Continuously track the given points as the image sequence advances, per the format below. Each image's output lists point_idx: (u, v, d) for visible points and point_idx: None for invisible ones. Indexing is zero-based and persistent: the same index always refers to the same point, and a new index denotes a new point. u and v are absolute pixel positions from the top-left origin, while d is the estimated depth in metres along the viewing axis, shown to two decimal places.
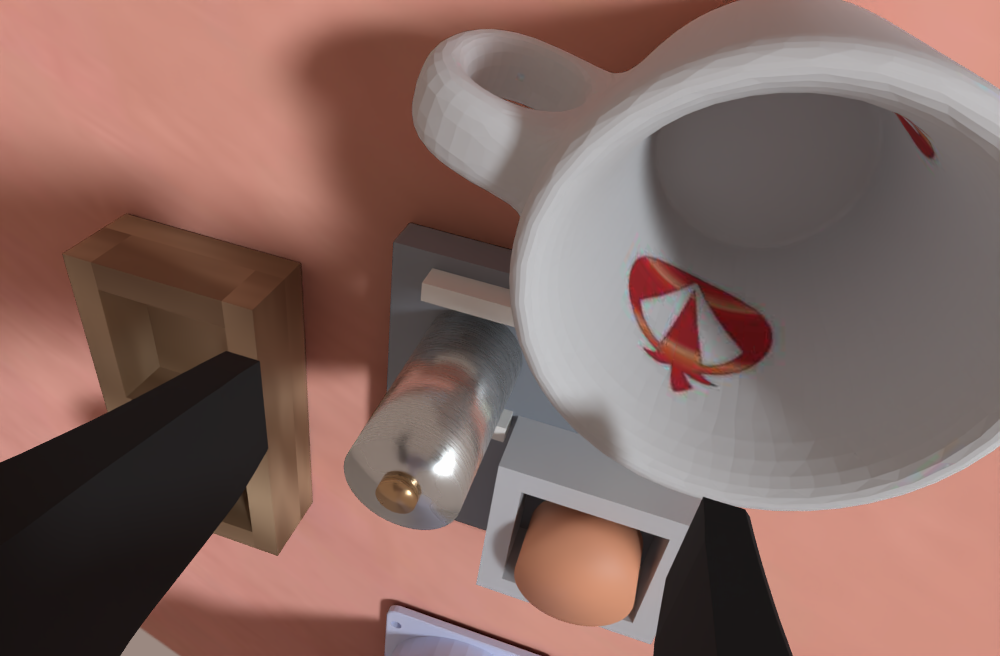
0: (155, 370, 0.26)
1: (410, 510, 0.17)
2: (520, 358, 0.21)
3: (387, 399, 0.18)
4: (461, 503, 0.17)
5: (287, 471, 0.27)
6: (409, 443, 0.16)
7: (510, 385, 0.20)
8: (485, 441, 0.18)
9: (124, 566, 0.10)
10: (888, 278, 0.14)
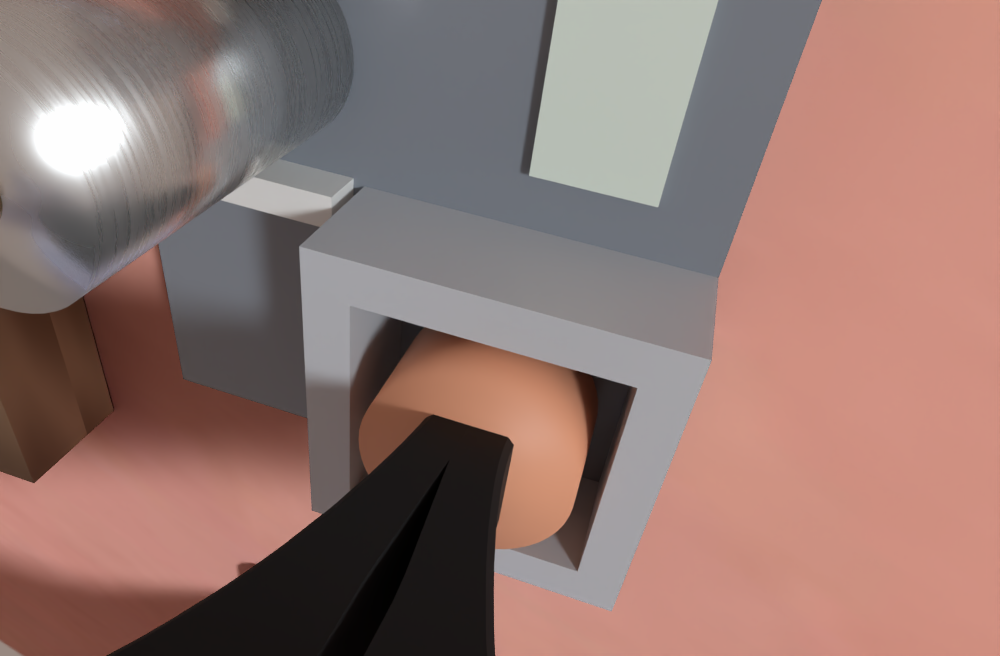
0: None
1: None
2: (346, 41, 0.11)
3: None
4: (91, 213, 0.07)
5: (31, 338, 0.16)
6: None
7: (310, 68, 0.10)
8: (207, 121, 0.08)
9: None
10: None
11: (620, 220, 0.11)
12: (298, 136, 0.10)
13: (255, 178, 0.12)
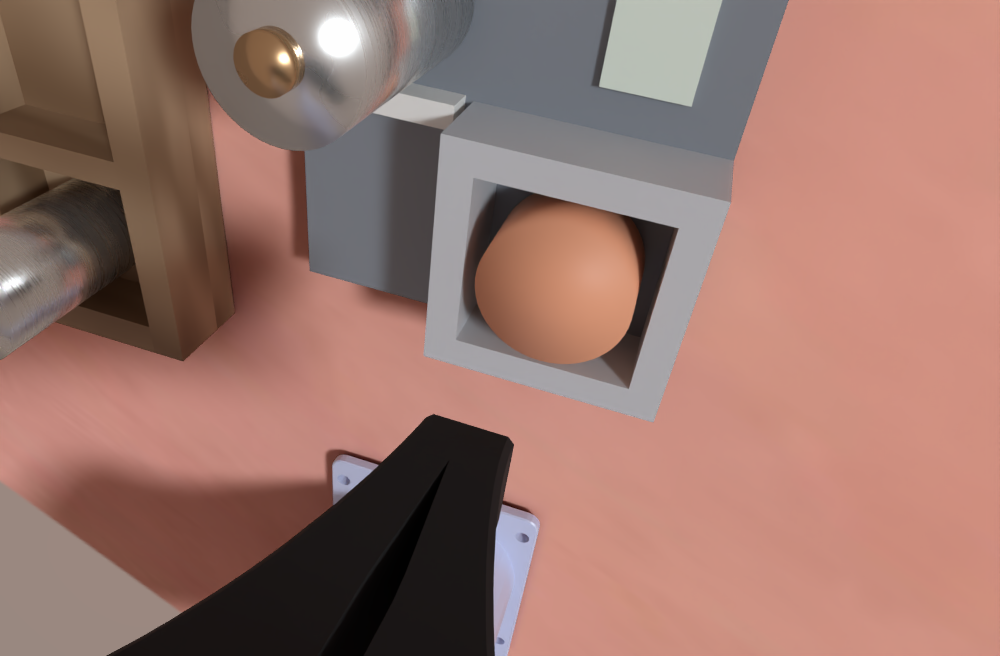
0: (17, 106, 0.20)
1: (286, 87, 0.11)
2: None
3: None
4: (364, 75, 0.11)
5: (189, 240, 0.21)
6: None
7: (454, 6, 0.14)
8: (409, 31, 0.12)
9: None
10: None
11: (663, 119, 0.16)
12: (441, 55, 0.15)
13: None
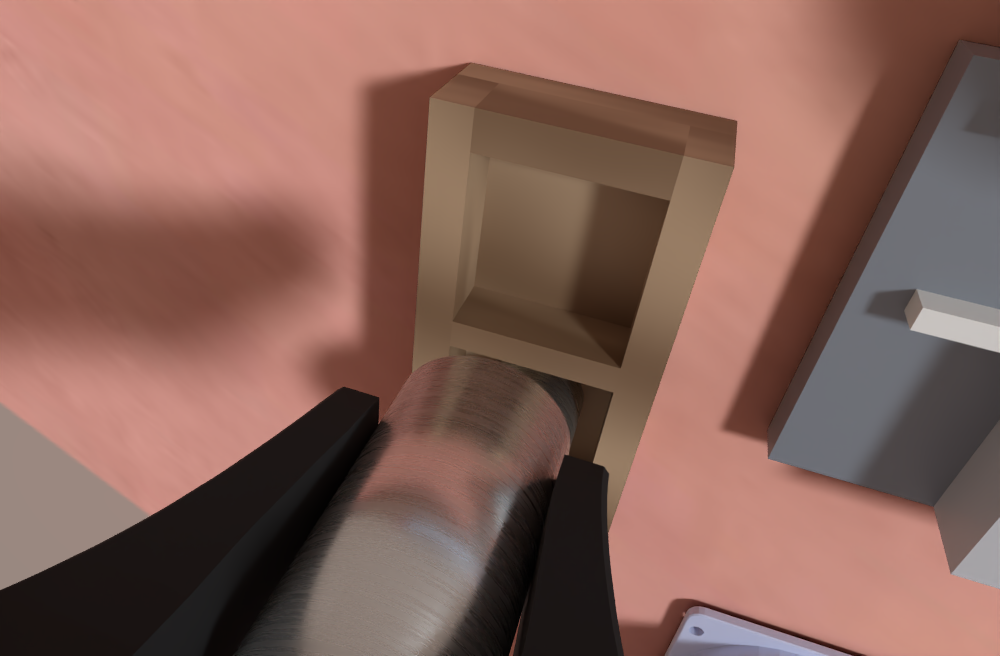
0: (471, 289, 0.20)
1: None
2: (567, 445, 0.11)
3: (304, 559, 0.08)
4: None
5: None
6: None
7: None
8: (509, 640, 0.09)
9: None
10: None
11: None
12: None
13: None
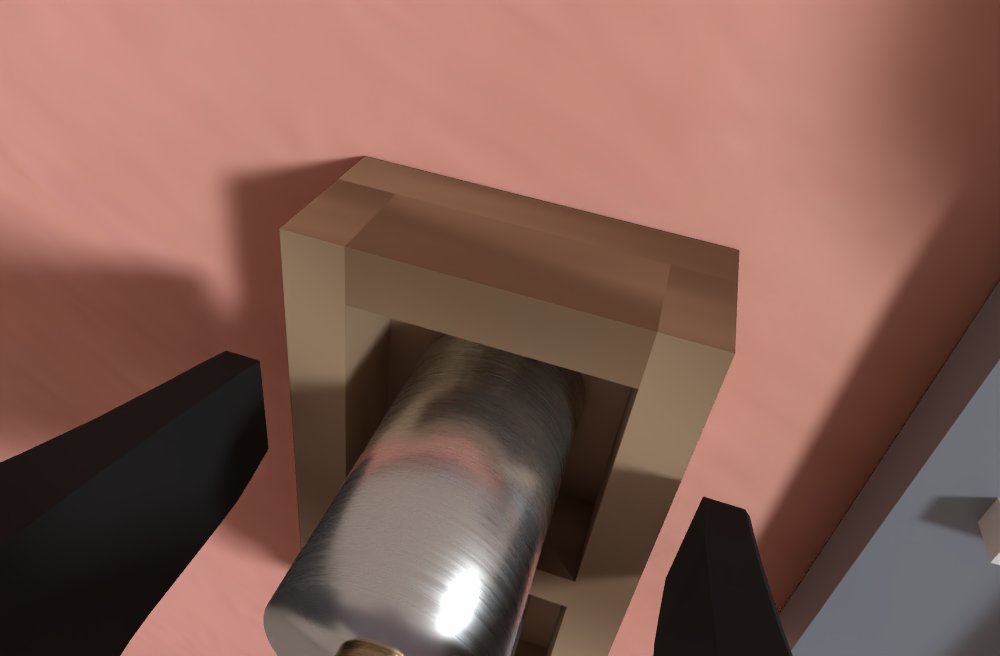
0: None
1: None
2: (582, 398, 0.12)
3: (351, 487, 0.09)
4: None
5: None
6: (390, 596, 0.08)
7: (569, 446, 0.12)
8: (534, 562, 0.10)
9: (124, 565, 0.10)
10: None
11: None
12: None
13: None
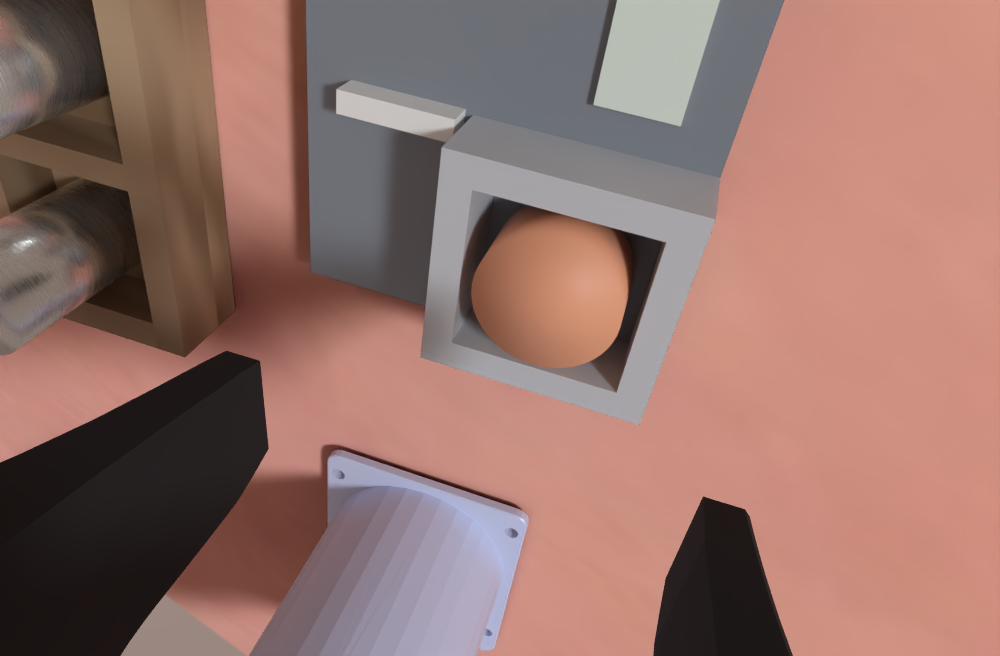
0: None
1: None
2: None
3: None
4: None
5: (194, 240, 0.22)
6: None
7: (92, 52, 0.18)
8: (16, 76, 0.16)
9: (124, 566, 0.10)
10: None
11: (654, 137, 0.16)
12: (90, 90, 0.18)
13: (400, 106, 0.17)
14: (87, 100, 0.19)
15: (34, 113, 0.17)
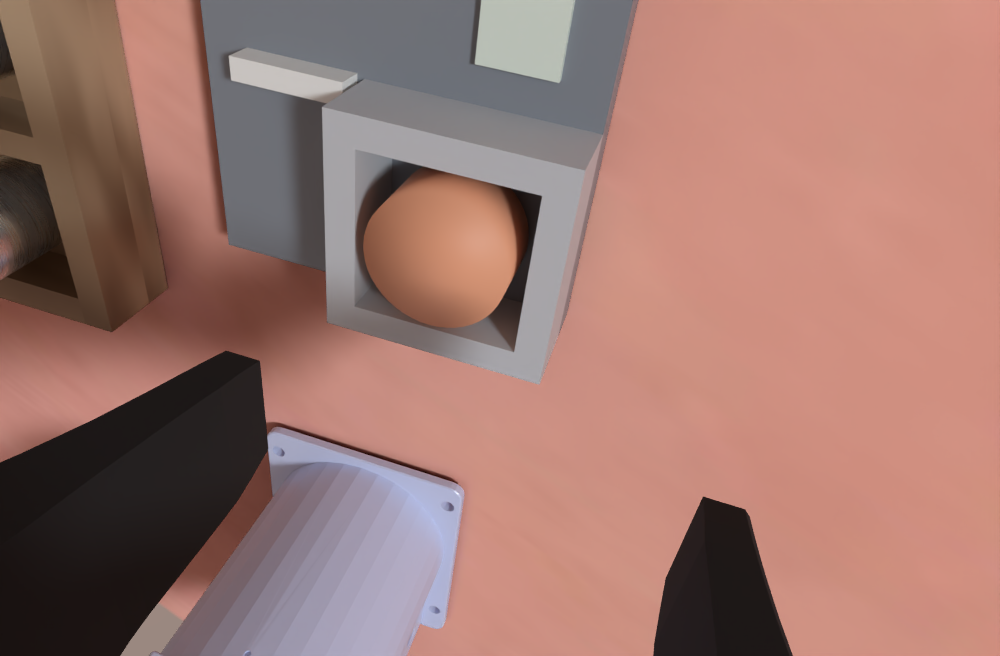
0: None
1: None
2: None
3: None
4: None
5: (114, 214, 0.22)
6: None
7: None
8: None
9: (124, 566, 0.10)
10: None
11: (536, 95, 0.17)
12: None
13: (290, 71, 0.17)
14: None
15: None
